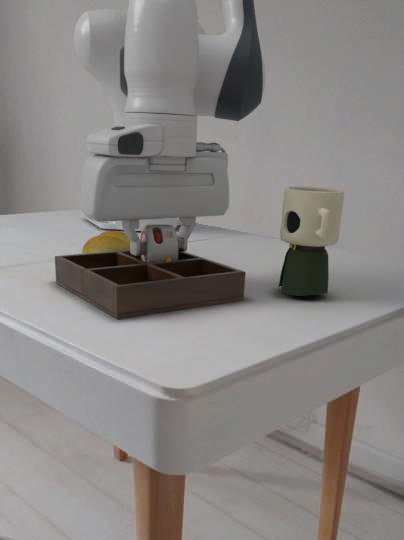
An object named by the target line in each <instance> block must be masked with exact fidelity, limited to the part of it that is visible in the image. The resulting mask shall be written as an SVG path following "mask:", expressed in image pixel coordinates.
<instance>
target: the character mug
mask: <svg viewBox="0 0 404 540" xmlns="http://www.w3.org/2000/svg"><path fill="white" fill-rule="evenodd" d="M282 199H283V201H282V211H281V223H280V230H279V237H280V241H282V242H284V243H286V244H289V247H288V249H287V251H286V252H285V255H284V259H283V263H282V267H281V272H280V276H279V282H278V287H277V289H278V290H279V289H280V292H281V293H284V294H286V295H289V296H290V295H291V296H296V297H302V296H303V297H304V298H305V299H308V298H309V296H313V295H324V294H328V292H329V279H330V278H329V276H330V274H329V273H330V272H329V253H328V251H327V249H326V247H329V246H335V245H336V244H338V242H339V237H340V231H341V223H342V214H343V206H344V199H345V191H344V190H342V189H337V188H330V187H320V186H319V187H317V186H286V187H284V190H283V198H282Z"/></svg>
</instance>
